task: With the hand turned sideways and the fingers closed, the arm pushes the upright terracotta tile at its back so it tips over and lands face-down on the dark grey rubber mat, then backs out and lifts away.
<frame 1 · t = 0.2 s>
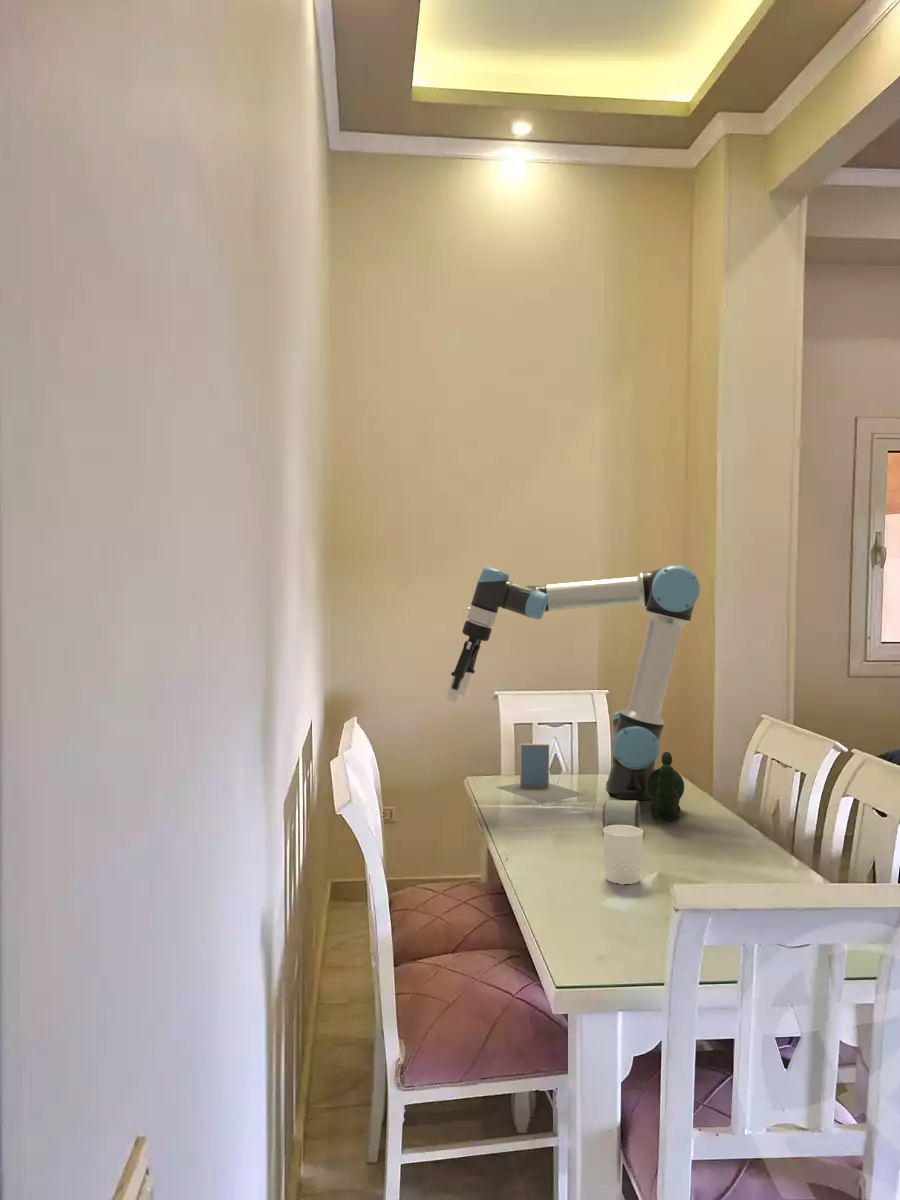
hand: (455, 697, 245), 27 cm above the table, tool tilted 15°, fingers open, 13 cm apart
ceramic mug: (621, 834, 213), on the table
tile: (534, 786, 255), point 1 cm above the table, touching mat
white cup: (622, 880, 181), on the table
toy figurine: (665, 816, 228), on the table
mat: (540, 793, 249), on the table
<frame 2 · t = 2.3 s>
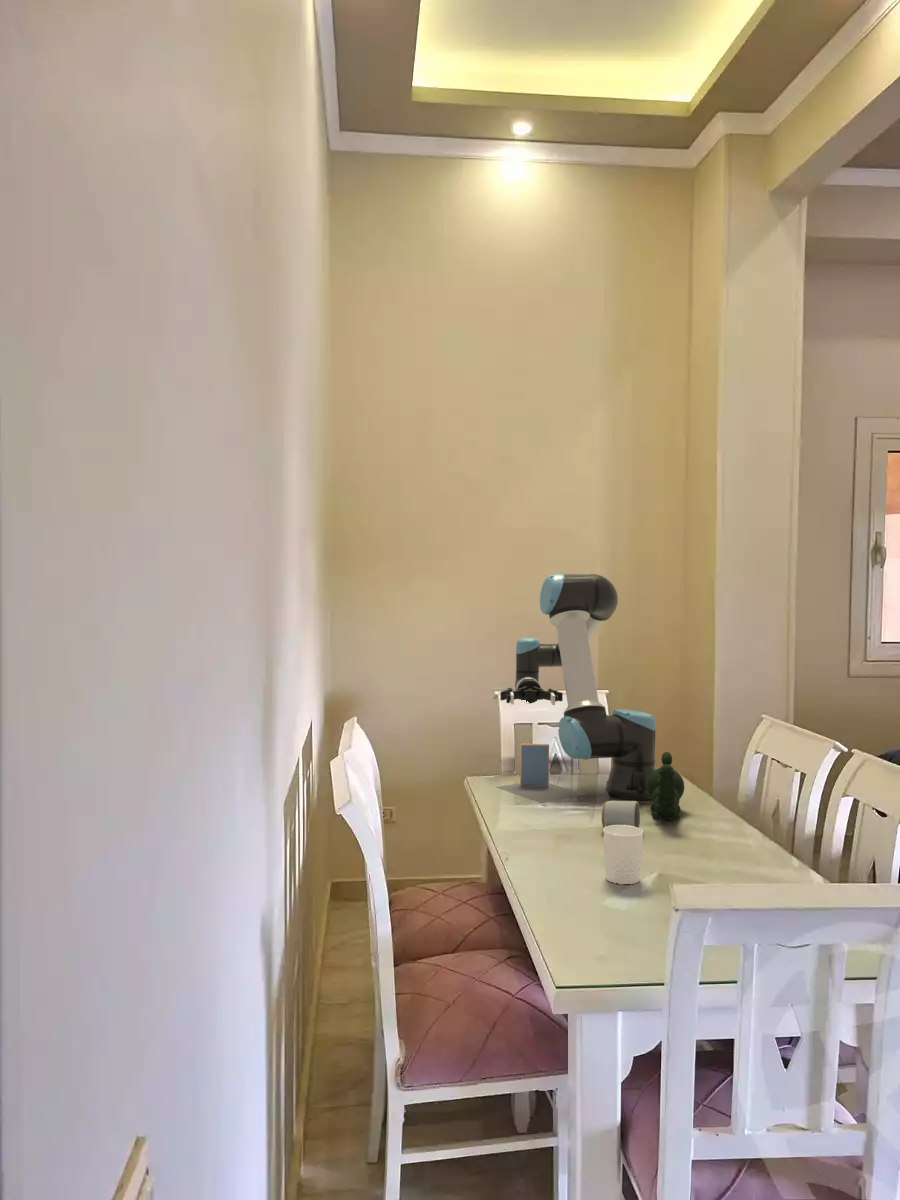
hand: (533, 700, 263), 24 cm above the table, tool horizontal, fingers open, 11 cm apart
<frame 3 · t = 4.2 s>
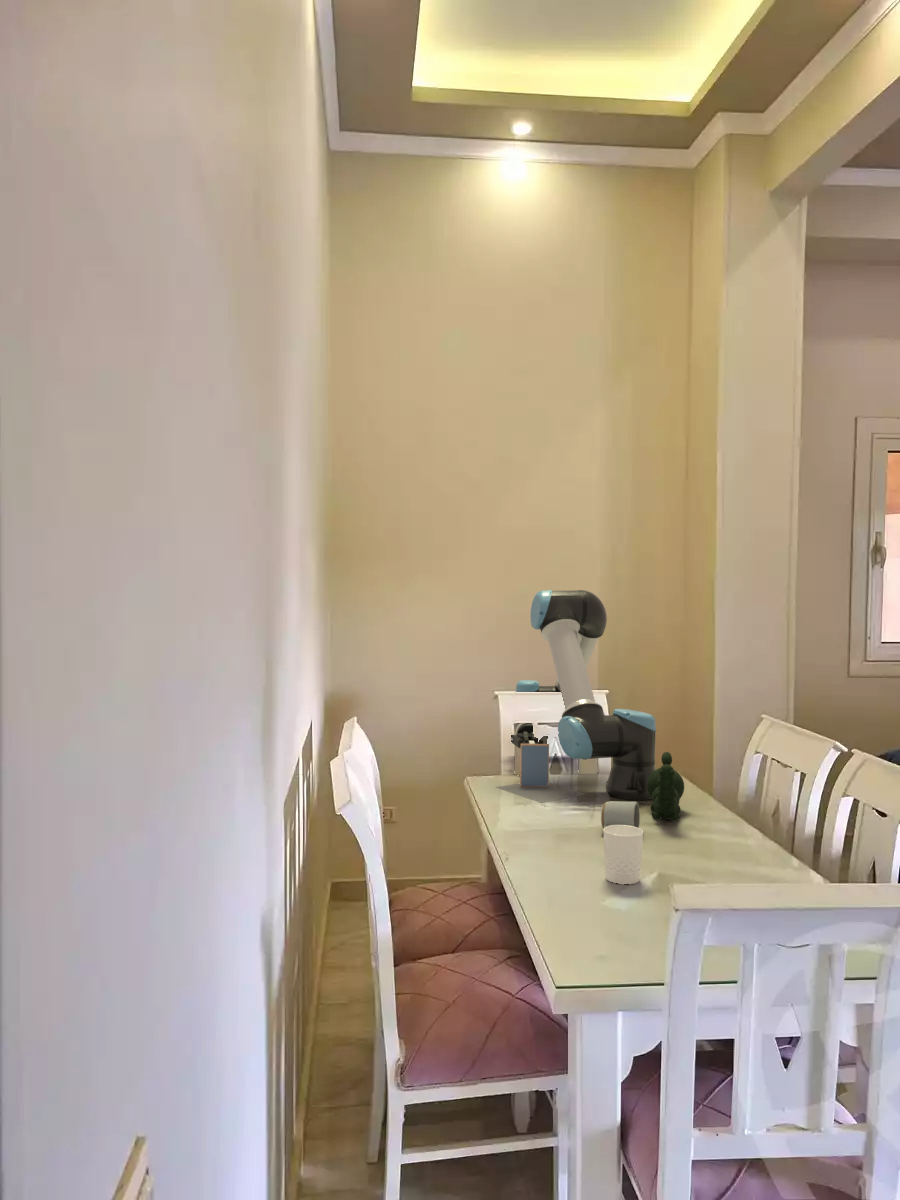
hand: (532, 749, 262), 10 cm above the table, tool horizontal, fingers closed
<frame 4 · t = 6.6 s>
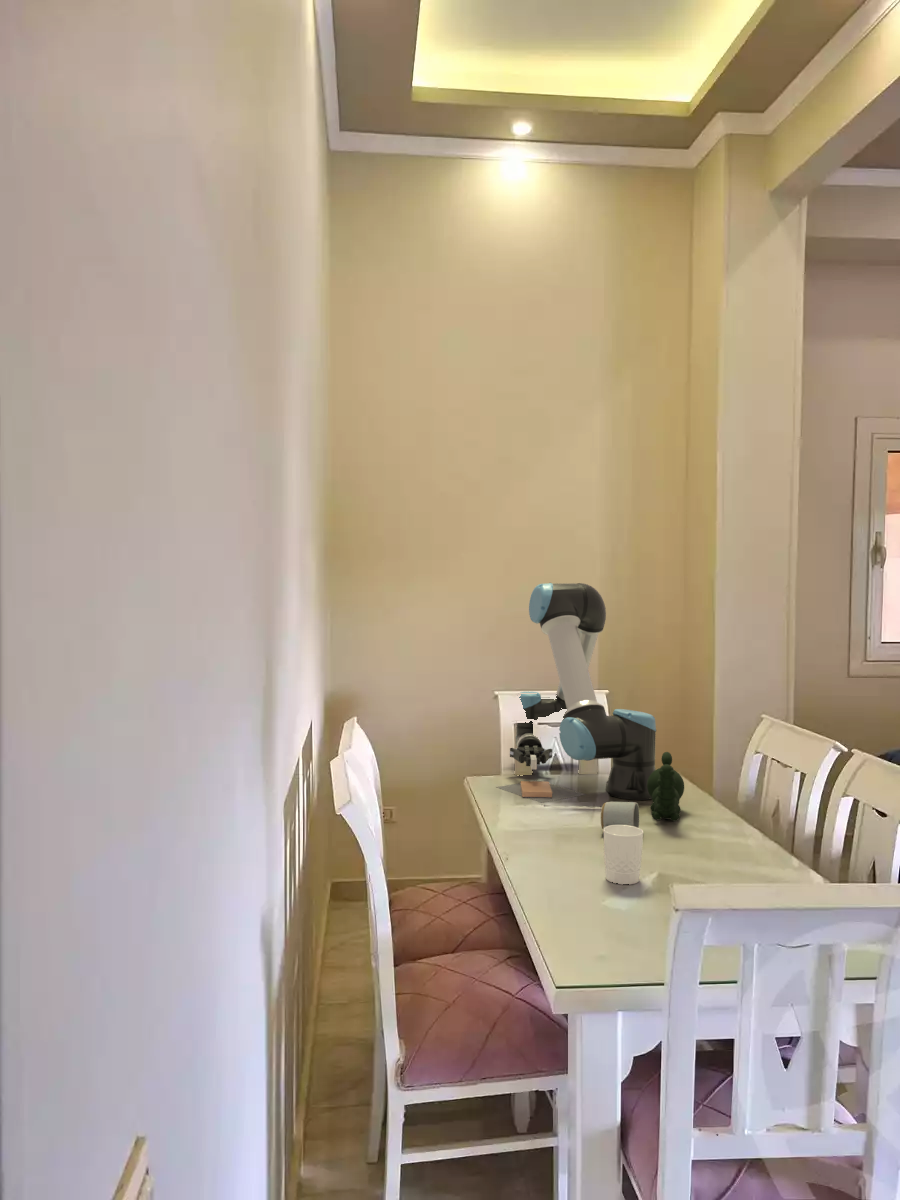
hand: (534, 764, 250), 8 cm above the table, tool horizontal, fingers closed
tile: (534, 783, 254), point 2 cm above the table, tilted 90°, touching mat
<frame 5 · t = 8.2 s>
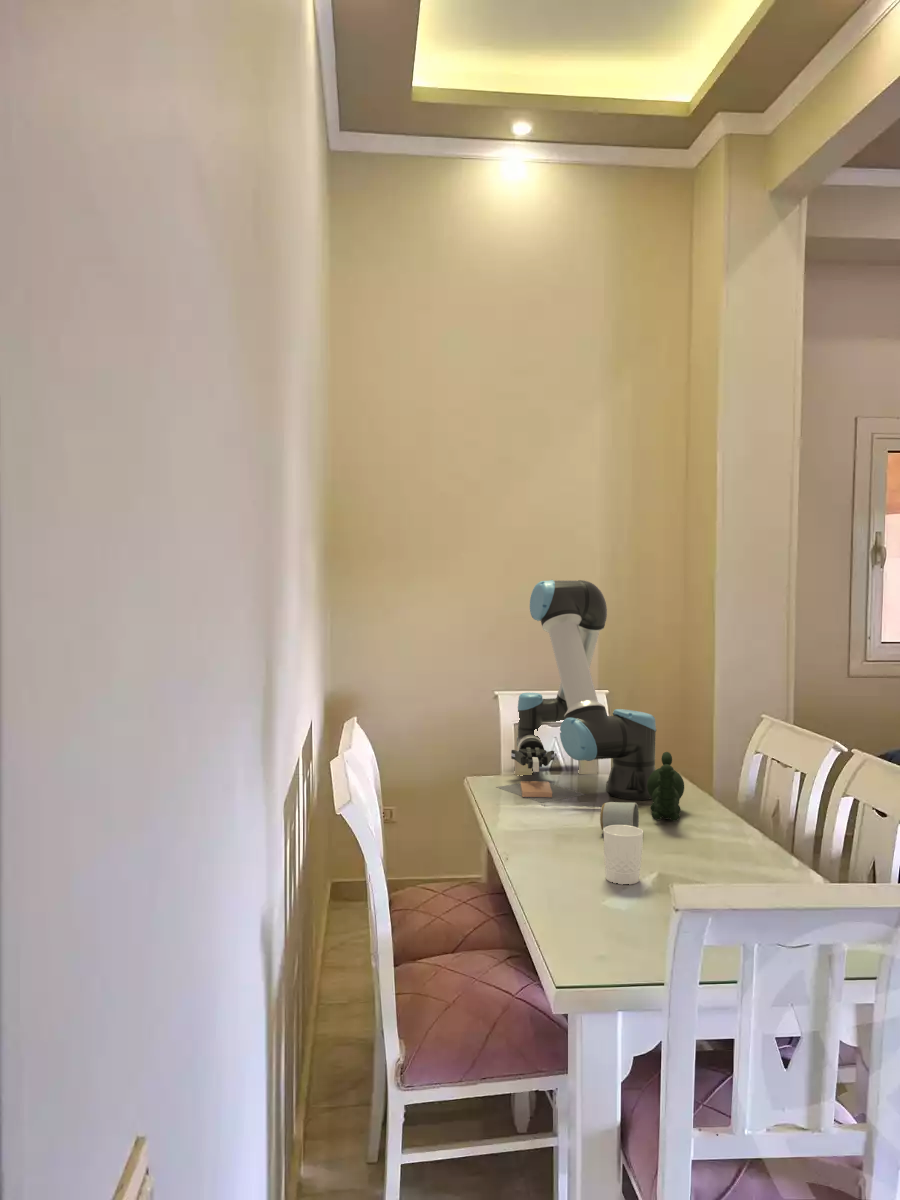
hand: (536, 766, 247), 8 cm above the table, tool horizontal, fingers closed
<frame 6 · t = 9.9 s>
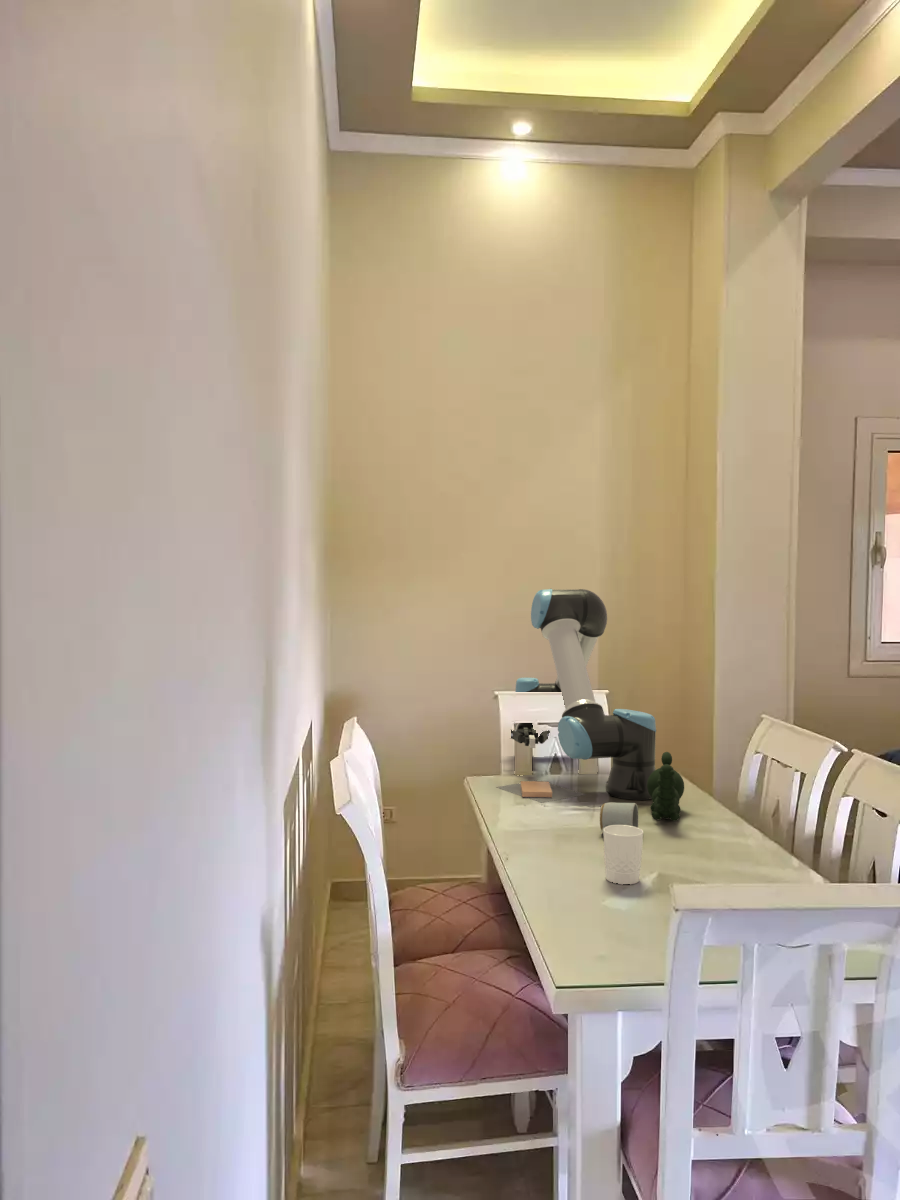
hand: (532, 743, 262), 12 cm above the table, tool horizontal, fingers closed
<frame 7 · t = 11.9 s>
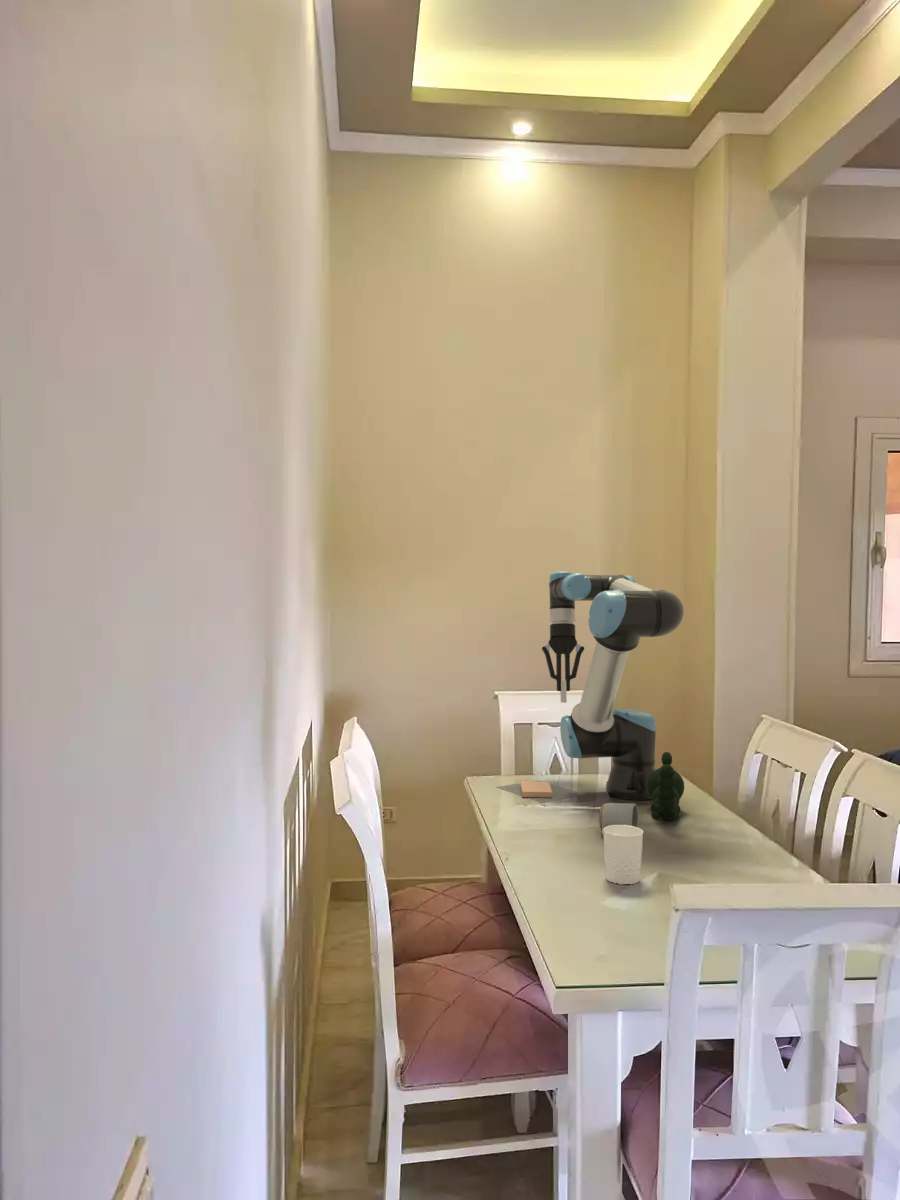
hand: (563, 702, 267), 23 cm above the table, tool pointing down, fingers closed
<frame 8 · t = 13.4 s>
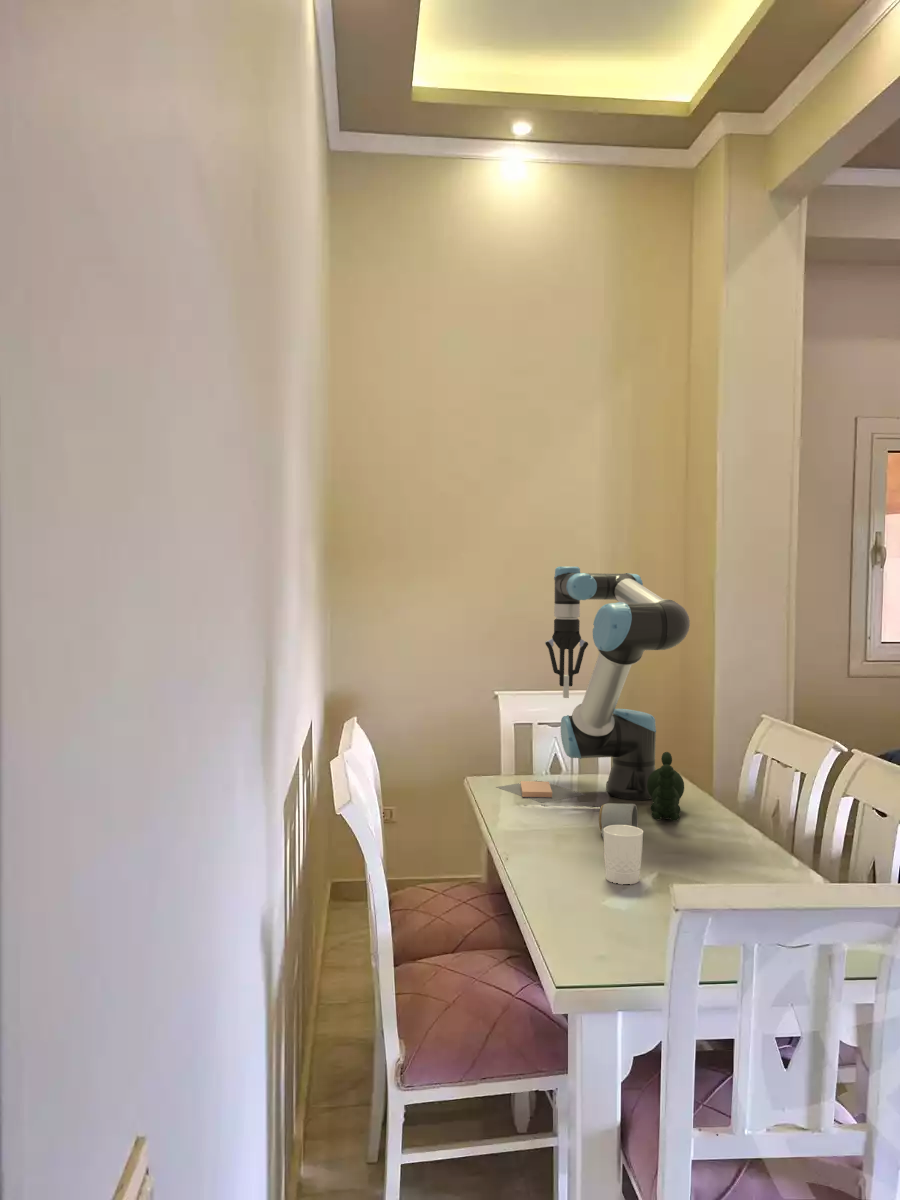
hand: (565, 697, 267), 24 cm above the table, tool pointing down, fingers closed
at the end: tile tilted 90°; tile inside the target area on the mat (2.2 cm from its centre), point 1.7 cm above the mat's base; tile touching mat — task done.
